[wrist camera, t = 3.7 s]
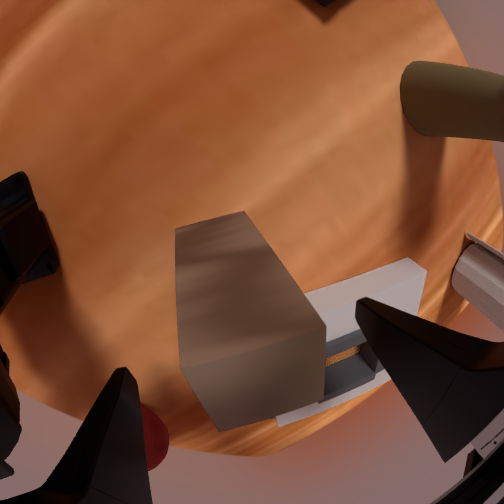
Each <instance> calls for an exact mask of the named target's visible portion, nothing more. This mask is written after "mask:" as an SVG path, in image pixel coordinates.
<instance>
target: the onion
mask: <svg viewBox="0 0 504 504" xmlns="http://www.w3.org/2000/svg"><path fill="white" fill-rule="evenodd" d="M141 410H142V416H143V426H144V439H145V450H146V460H147V468H148V471H150V470H152V469H154V468H155V467H157V466H158V465H159V464H160V463H161V462H162V461H163V459H164V458H165V456H166V454H167V451H168V447H169V434H168V430H167V427H166V426H165V424H164V423H163V422H162V420H161V419H160V418H159V416H157V415H156V414H155V413H154V412H152V411H151V410H149V409H147V408H146V407H144V406H143V405H142V404H141Z"/></svg>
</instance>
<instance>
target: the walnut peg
mask: <svg viewBox="0 0 504 504" xmlns="http://www.w3.org/2000/svg"><path fill="white" fill-rule="evenodd" d="M175 272H176V305H177V325H178V341H179V355H180V367H181V370H182V372H183V374H184V376H185V377H186V379H187V381H188V383H189V384H190V386H191V388H192V390H193V391H194V393H195V395H196V396H197V398H198V400H199V401H200V403H201V405H202V406H203V408H204V409H205V411H206V413H207V414H208V416H209V417H210V419H211V420H212V422H213V423H214V425H215V426H216V428H217V430H218V431H219V432H220V431H224V430H229V429H233V428H237V427H241V426H245V425H248V424H252V423H256V422H259V421H262V420H266V419H269V418H272V417H276V416H279V415H282V414H285V413H288V412H291V411H294V410H297V409H299V408H302V407H305V406H308V405H310V404H313V403H316V402H318V401H321V400H323V399H324V383H325V363H326V325H325V323H324V322H323V320H322V319H321V317H320V316H319V315H318V313H317V312H316V310H315V309H314V307H313V306H312V305H311V303H310V302H309V300H308V299H307V297H306V296H305V295H304V293H303V292H302V290H301V289H300V288H299V286H298V285H297V283H296V282H295V281H294V279H293V278H292V276H291V275H290V274H289V272H288V271H287V269H286V268H285V267H284V265H283V264H282V262H281V261H280V260H279V258H278V257H277V255H276V254H275V253H274V251H273V250H272V248H271V247H270V246H269V244H268V243H267V242H266V240H265V239H264V237H263V236H262V235H261V233H260V232H259V231H258V229H257V228H256V226H255V225H254V224H253V222H252V221H251V220H250V218H249V217H248V215H247V214H246V213H245V211H241V212H237V213H233V214H229V215H225V216H221V217H217V218H213V219H209V220H206V221H202V222H198V223H194V224H190V225H187V226H183V227H179V228H176V229H175Z"/></svg>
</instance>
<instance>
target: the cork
mask: <svg viewBox="0 0 504 504" xmlns="http://www.w3.org/2000/svg"><path fill="white" fill-rule="evenodd" d="M400 94H401V102H402V106H403V109H404V113H405V115H406V117H407V119H408V121H409V123H410V124H411V125H412V126H413V127H414V129H415V130H416V131H417V132H419V133H421V134H422V135H424V136H439V137H458V138H472V139H483V140H492V141H501V142H504V76H503V75H499V74H495V73H491V72H487V71H483V70H478V69H473V68H468V67H463V66H457V65H451V64H444V63H437V62H428V61H415V62H412V63H410V64H409V65H408V66H407V67H406V68H405V70H404V72H403V74H402V78H401V84H400Z"/></svg>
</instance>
